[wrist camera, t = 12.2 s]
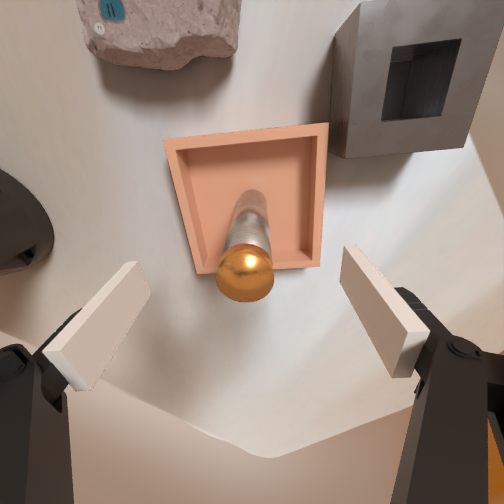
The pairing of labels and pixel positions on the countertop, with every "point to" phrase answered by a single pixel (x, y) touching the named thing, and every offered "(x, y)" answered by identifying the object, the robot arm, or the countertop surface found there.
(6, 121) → the countertop surface
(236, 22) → the decorative stone
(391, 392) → the countertop surface
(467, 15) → the block
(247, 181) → the tray
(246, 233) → the pin
